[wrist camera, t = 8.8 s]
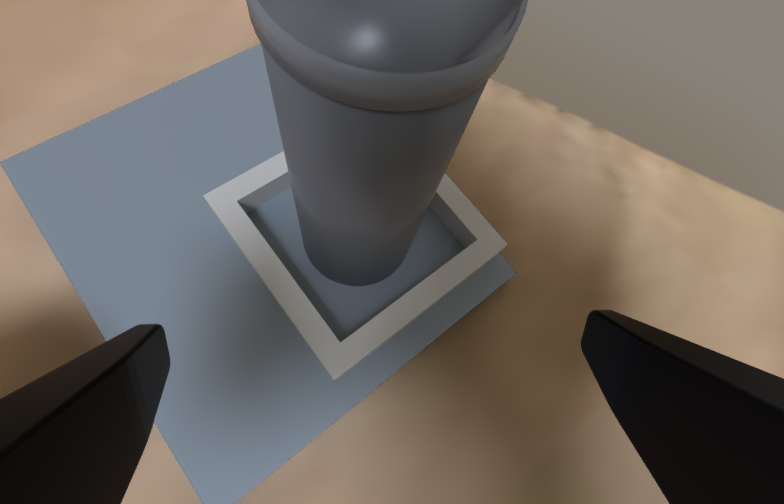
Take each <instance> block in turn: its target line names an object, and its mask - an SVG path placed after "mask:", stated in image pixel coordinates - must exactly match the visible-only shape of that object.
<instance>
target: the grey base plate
mask: <svg viewBox="0 0 784 504" xmlns="http://www.w3.org/2000/svg"><path fill="white" fill-rule="evenodd" d="M0 164H1V166H2V168H3V169H4V171H5V173H6V174H7V176H8V178H9V179H10V181H11V183H12V184H13V186H14V188H15V190H16V191H17V193H18V195H19V196H20V198H21V200H22V201H23V203H24V205H25V206H26V208H27V210H28V211H29V213H30V215H31V216H32V218H33V220H34V221H35V223H36V225H37V226H38V228H39V230H40V231H41V233H42V235H43V236H44V238H45V240H46V242H47V243H48V245H49V247H50V248H51V250H52V252H53V253H54V255H55V257H56V258H57V260H58V262H59V263H60V265H61V267H62V268H63V270H64V272H65V273H66V275H67V277H68V278H69V280H70V282H71V283H72V285H73V287H74V288H75V290H76V292H77V293H78V295H79V297H80V299H81V300H82V302H83V304H84V305H85V307H86V309H87V310H88V312H89V314H90V315H91V317H92V319H93V320H94V322H95V324H96V325H97V327H98V329H99V330H100V332H101V334H102V335H103V337H104V339H105V340H106V341H108V340H110V339H112V338H114V337H116V336H117V335H119V334H121V333H123V332H125V331H127V330H129V329H130V328H132V327H134V326H136V325H139V324H160V325H162V326H163V328H164V331H165V335H166V340H167V345H168V349H169V354H170V370H169V374H168V377H167V380H166V383H165V387H164V390H163V393H162V397H161V400H160V403H159V406H158V410H157V413H156V416H155V419H154V423H155V424H156V426H157V428H158V429H159V431H160V433H161V434H162V436H163V438H164V439H165V441H166V443H167V444H168V446H169V448H170V449H171V451H172V453H173V454H174V456H175V458H176V460H177V461H178V463H179V465H180V466H181V468H182V470H183V471H184V473H185V475H186V476H187V478H188V480H189V481H190V483H191V485H192V486H193V488H194V490H195V491H196V493H197V495H198V496H199V498H200V500H201V501H202V503H203V504H235V503H236V502H237V501H238V500H240V499H241V498H242V497H243V496H245V495H246V494H247V493H248V492H249V491H251V490H252V489H253V488H254V487H256V486H257V485H258V484H259V483H260V482H262V481H263V480H264V479H265V478H267V477H268V476H269V475H270V474H271V473H273V472H274V471H275V470H276V469H278V468H279V467H280V466H281V465H282V464H284V463H285V462H286V461H287V460H289V459H290V458H291V457H292V456H293V455H295V454H296V453H297V452H298V451H300V450H301V449H302V448H303V447H304V446H306V445H307V444H308V443H309V442H311V441H312V440H313V439H314V438H315V437H317V436H318V435H319V434H320V433H322V432H323V431H324V430H325V429H326V428H328V427H329V426H330V425H331V424H333V423H334V422H335V421H336V420H337V419H339V418H340V417H341V416H342V415H344V414H345V413H346V412H347V411H348V410H350V409H351V408H352V407H353V406H355V405H356V404H357V403H358V402H359V401H361V400H362V399H363V398H364V397H366V396H367V395H368V394H369V393H370V392H372V391H373V390H374V389H375V388H377V387H378V386H379V385H380V384H381V383H383V382H384V381H385V380H386V379H388V378H389V377H390V376H391V375H392V374H394V373H395V372H396V371H397V370H399V369H400V368H401V367H402V366H403V365H405V364H406V363H407V362H408V361H410V360H411V359H412V358H413V357H414V356H416V355H417V354H418V353H419V352H421V351H422V350H423V349H424V348H425V347H427V346H428V345H429V344H430V343H432V342H433V341H434V340H435V339H436V338H438V337H439V336H440V335H441V334H443V333H444V332H445V331H446V330H447V329H449V328H450V327H451V326H452V325H454V324H455V323H456V322H457V321H458V320H460V319H461V318H462V317H463V316H465V315H466V314H467V313H468V312H469V311H471V310H472V309H473V308H474V307H476V306H477V305H478V304H479V303H480V302H482V301H483V300H484V299H485V298H487V297H488V296H489V295H490V294H491V293H493V292H494V291H495V290H496V289H498V288H499V287H500V286H501V285H502V284H504V283H505V282H506V281H507V280H509V279H510V278H511V277H512V276H513V275H515V274H516V273H517V272H516V271H515V270H514V269H513V267H512V266H511V265H510V264H509V263H508V262H507V261H506V259H505V258H504V257H503V256H502V255H501V254H500V251H501V250H503V249H504V248H505V247H506V246H507V245H508V244H507V243H506V242H505V241H504V239H503V238H502V237H501V236H500V235H499V234H498V233H497V231H496V230H495V229H494V228H493V227H492V226H491V225H490V223H489V222H488V221H487V220H486V219H485V218H484V217H483V215H482V214H481V213H480V212H479V211H478V210H477V209H476V207H475V206H474V205H473V204H472V203H471V202H470V201H469V199H468V198H467V197H466V196H465V195H464V194H463V193H462V192H461V190H460V189H459V188H458V187H457V186H456V185H455V184H454V182H453V181H452V180H451V179H450V178H449V177H448V176H447V174H446V173H444V175H443V177H442V179H441V182H440V184H439V186H438V188H437V190H436V192H435V194H434V197H433V199H432V201H431V203H430V205H429V207H428V209H427V212H426V214H425V216H424V218H423V220H422V222H421V224H420V227H419V229H418V231H417V233H416V235H415V237H414V239H413V242H412V244H411V246H410V248H409V250H408V252H407V254H406V257H405V259H404V261H403V262H402V264H401V265H400V266H399V268H398V269H397V270H396V271H395V272H394V273H393V274H392V275H390V276H389V277H387V278H386V279H384V280H382V281H380V282H378V283H375V284H372V285H367V286H348V285H343V284H339V283H336V282H334V281H332V280H330V279H328V278H327V277H325V276H324V275H322V274H321V273H320V272H319V271H318V270H317V269H316V268H315V267H314V266H313V264H312V263H311V262H310V260H309V258H308V256H307V254H306V251H305V249H304V244H303V239H302V235H301V230H300V225H299V220H298V216H297V211H296V206H295V201H294V197H293V192H292V187H291V182H290V178H289V173H288V168H287V163H286V159H285V154H284V149H283V144H282V140H281V135H280V130H279V125H278V121H277V116H276V111H275V106H274V102H273V97H272V92H271V87H270V83H269V78H268V73H267V68H266V63H265V59H264V54H263V49H262V44H258V45H256V46H254V47H252V48H250V49H247V50H245V51H243V52H241V53H239V54H236V55H234V56H232V57H230V58H228V59H225V60H223V61H221V62H219V63H217V64H214V65H212V66H210V67H208V68H206V69H203V70H201V71H199V72H197V73H195V74H192V75H190V76H188V77H186V78H183V79H181V80H179V81H177V82H175V83H172V84H170V85H168V86H166V87H164V88H161V89H159V90H157V91H155V92H153V93H150V94H148V95H146V96H144V97H142V98H139V99H137V100H135V101H133V102H131V103H128V104H126V105H124V106H122V107H120V108H117V109H115V110H113V111H111V112H109V113H106V114H104V115H102V116H100V117H98V118H95V119H93V120H91V121H89V122H87V123H84V124H82V125H80V126H78V127H76V128H73V129H71V130H69V131H67V132H65V133H62V134H60V135H58V136H56V137H54V138H51V139H49V140H47V141H45V142H43V143H40V144H38V145H36V146H34V147H32V148H29V149H27V150H25V151H23V152H21V153H18V154H16V155H14V156H12V157H10V158H7V159H5V160H3V161H1V162H0Z"/></svg>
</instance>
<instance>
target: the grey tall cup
mask: <svg viewBox="0 0 784 504" xmlns="http://www.w3.org/2000/svg"><path fill="white" fill-rule="evenodd" d="M246 1H247V6H248V10H249V15H250V19H251V22H252V25H253V27H254V30H255V33H256V35H257V36H258V38H259V40H260V42H261V44H262V49H263V54H264V59H265V63H266V68H267V73H268V78H269V83H270V87H271V92H272V97H273V102H274V106H275V111H276V116H277V121H278V125H279V130H280V135H281V140H282V144H283V149H284V154H285V159H286V163H287V168H288V173H289V178H290V182H291V187H292V192H293V197H294V201H295V206H296V211H297V216H298V220H299V225H300V230H301V235H302V239H303V244H304V249H305V251H306V254H307V256H308V258H309V260H310V262H311V263H312V264H313V266H314V267H315V268H316V269H317V270H318V271H319V272H320V273H321V274H322V275H324V276H325V277H327V278H328V279H330V280H332V281H334V282H336V283H339V284H343V285H348V286H367V285H372V284H375V283H378V282H380V281H382V280H384V279H386V278H387V277H389V276H390V275H392V274H393V273H394V272H395V271H396V270H397V269H398V268H399V266H400V265H401V264H402V262H403V261H404V259H405V257H406V254H407V252H408V250H409V248H410V246H411V244H412V242H413V239H414V237H415V235H416V233H417V231H418V229H419V227H420V224H421V222H422V220H423V218H424V216H425V214H426V212H427V209H428V207H429V205H430V203H431V201H432V199H433V197H434V194H435V192H436V190H437V188H438V186H439V184H440V182H441V179H442V177H443V175H444V173H445V171H446V169H447V167H448V164H449V162H450V160H451V158H452V156H453V154H454V152H455V149H456V147H457V145H458V143H459V141H460V139H461V137H462V134H463V132H464V130H465V128H466V126H467V124H468V122H469V120H470V117H471V115H472V113H473V111H474V109H475V107H476V105H477V102H478V100H479V98H480V96H481V94H482V92H483V90H484V87H485V85H486V83H487V81H488V79H489V78H490V77H491V75H493V73H494V72H495V71H496V70H497V68H498V67H499V65H500V64H501V62H502V61H503V59H504V57H505V55H506V52H507V51H508V48H509V46H510V44H511V42H512V40H513V38H514V36H515V34H516V32H517V30H518V28H519V26H520V23H521V21H522V19H523V16H524V14H525V11H526V6H527V2H528V0H246Z"/></svg>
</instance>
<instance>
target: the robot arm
mask: <svg viewBox="0 0 784 504" xmlns="http://www.w3.org/2000/svg"><path fill="white" fill-rule="evenodd" d="M581 348H582V352H583V354H584V356H585V358H586V360H587V362H588V364H589V366H590V368H591V370H592V372H593V374H594V376H595V378H596V380H597V382H598V384H599V386H600V388H601V390H602V392H603V394H604V396H605V398H606V400H607V402H608V404H609V406H610V408H611V410H612V412H613V413H614V415H615V417H616V418H617V420H618V422H619V423H620V425H621V427H622V428H623V430H624V431H625V433H626V435H627V436H628V438H629V439H630V441H631V443H632V444H633V446H634V447H635V449H636V451H637V452H638V454H639V456H640V457H641V459H642V460H643V462H644V464H645V465H646V467H647V468H648V470H649V472H650V473H651V475H652V476H653V478H654V480H655V481H656V483H657V484H658V486H659V488H660V489H661V491H662V492H663V494H664V496H665V497H666V499H667V500H668V502H669V504H784V379H783V378H780V377H778V376H775V375H773V374H770V373H768V372H765V371H763V370H760V369H758V368H755V367H753V366H750V365H748V364H745V363H743V362H740V361H738V360H735V359H733V358H730V357H728V356H725V355H723V354H720V353H717V352H715V351H712V350H710V349H707V348H705V347H702V346H700V345H697V344H695V343H692V342H690V341H687V340H685V339H682V338H680V337H677V336H675V335H672V334H670V333H667V332H665V331H662V330H660V329H657V328H655V327H652V326H650V325H647V324H645V323H642V322H640V321H637V320H635V319H632V318H630V317H627V316H625V315H622V314H620V313H617V312H615V311H612V310H593V311H592V312H590V314H589V315H588V318H587V321H586V325H585V329H584V332H583V336H582V339H581ZM169 370H170V354H169V349H168V345H167V340H166V335H165V331H164V328H163V326H162V325H160V324H139V325H136V326H134V327H132V328H130V329H129V330H127V331H125V332H123V333H121V334H119V335H117V336H116V337H114V338H112V339H110V340H108V341H106V342H104V343H103V344H101V345H99V346H97V347H95V348H93V349H92V350H90V351H88V352H86V353H84V354H82V355H80V356H79V357H77V358H75V359H73V360H71V361H69V362H67V363H66V364H64V365H62V366H60V367H58V368H56V369H55V370H53V371H51V372H49V373H47V374H45V375H43V376H42V377H40V378H38V379H36V380H34V381H32V382H31V383H29V384H27V385H25V386H23V387H21V388H19V389H18V390H16V391H14V392H12V393H10V394H8V395H6V396H5V397H3V398H1V399H0V504H121V502H122V499H123V497H124V495H125V493H126V490H127V488H128V486H129V483H130V481H131V479H132V477H133V474H134V472H135V470H136V467H137V465H138V463H139V460H140V458H141V456H142V454H143V451H144V449H145V446H146V444H147V441H148V438H149V435H150V432H151V429H152V426H153V423H154V419H155V416H156V413H157V410H158V406H159V403H160V400H161V397H162V393H163V390H164V387H165V383H166V380H167V377H168V374H169Z"/></svg>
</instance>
